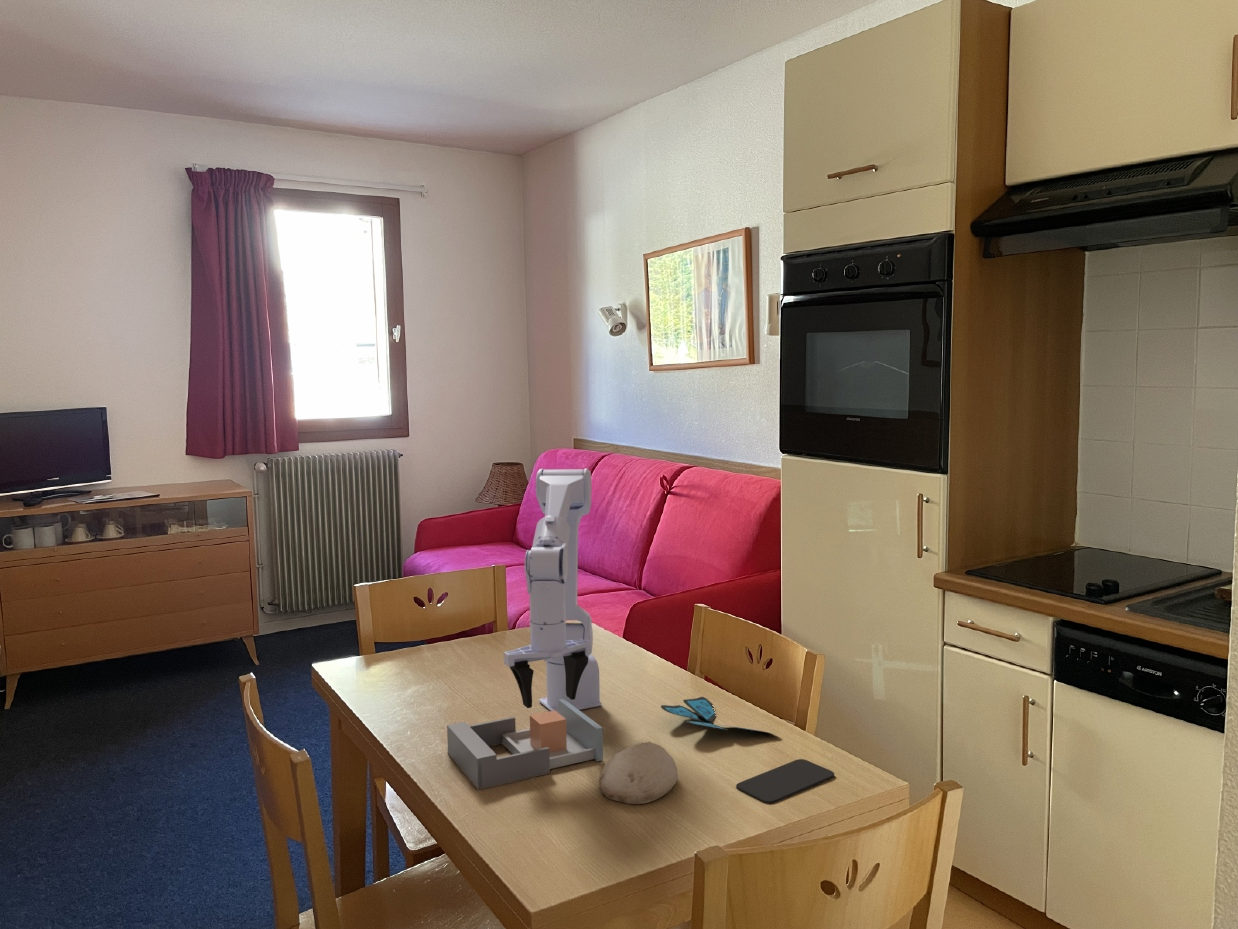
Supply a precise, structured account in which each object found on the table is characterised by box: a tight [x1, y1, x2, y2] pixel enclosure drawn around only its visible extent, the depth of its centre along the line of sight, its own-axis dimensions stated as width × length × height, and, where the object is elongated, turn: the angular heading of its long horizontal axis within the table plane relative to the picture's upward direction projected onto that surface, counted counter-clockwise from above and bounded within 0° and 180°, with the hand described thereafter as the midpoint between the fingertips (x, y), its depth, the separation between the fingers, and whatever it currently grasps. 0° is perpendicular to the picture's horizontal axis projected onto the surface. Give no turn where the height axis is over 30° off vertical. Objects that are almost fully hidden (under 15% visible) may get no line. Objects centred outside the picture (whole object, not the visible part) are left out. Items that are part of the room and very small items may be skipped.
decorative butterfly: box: [660, 696, 776, 734], centre depth 159 cm, size 20×14×3 cm
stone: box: [598, 741, 679, 805], centre depth 137 cm, size 13×10×8 cm
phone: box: [735, 758, 835, 805], centre depth 138 cm, size 7×1×15 cm
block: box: [529, 710, 567, 753], centre depth 150 cm, size 4×4×5 cm
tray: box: [501, 699, 604, 770], centre depth 150 cm, size 12×15×5 cm
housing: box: [446, 716, 551, 791], centre depth 146 cm, size 12×15×5 cm
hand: (549, 701), depth 149 cm, fingers open, 7 cm apart
